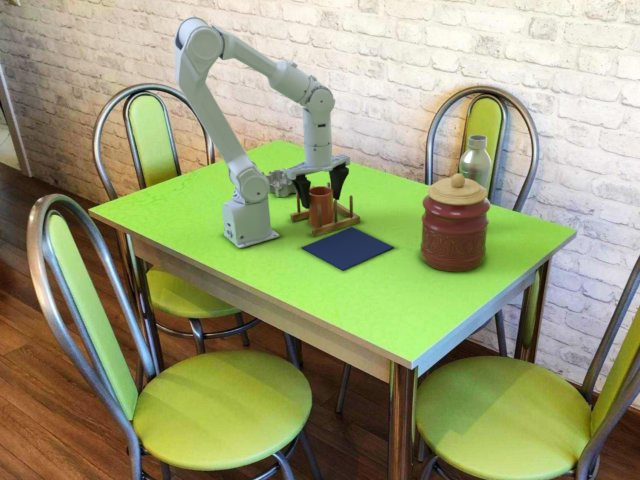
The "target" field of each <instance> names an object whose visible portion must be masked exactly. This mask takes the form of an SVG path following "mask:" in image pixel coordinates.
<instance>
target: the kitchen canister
mask: <svg viewBox="0 0 640 480" xmlns="http://www.w3.org/2000/svg"><path fill="white" fill-rule="evenodd" d="M486 189H487V188H486ZM486 189H485V188H484V187H482V186H481V185H479V184H478V183H477V182H475V181H473V180H470V179H466V178H464V176H463V175H462V174H460V173H454V174H453V175H452V176H451V177H446V178H442V179H439V180H437V181H436V182H433V184H431V185H429V187H428V188H427V190H426V192H427V195H425V197H424V198H422V207H423V209H424V212H423V213H422V215H421V222H422V224H421V225H422V226H421V243H420V254H421V255H420V256H421V258H422V261H423V262H424V263H426V264H427V265H428V266H430V267H431V268H434V269H436V270H440V271H445V272H466V271H470V270H473V269H475V268H477V267H479V266H481V264H483V262H484V259H485V257H486V253H487V252H486V251H487V246H486V245H487V244H486V243H487V233H488V226H489V223H490V219H489V217H488V212H489V210H490V209H491V201H490V200H489V199H488V198H487V196H488V191H487V190H486Z"/></svg>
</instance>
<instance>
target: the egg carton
mask: <svg viewBox="0 0 640 480" xmlns="http://www.w3.org/2000/svg"><path fill="white" fill-rule="evenodd" d="M261 173H262V174H263V175H265V176H266V177H267V179H268V180H269V183H270V191H269V193H271V194H273V193H275V196H276V197H277V198H287V197H289V194H296V191H297V190H296V188H295V186H294V184H293V183H292V181H291V180H290V179H289V178H288V177H287V168H279V169H274V171H272V170H271V171H268V174H265V172H264V171H261Z"/></svg>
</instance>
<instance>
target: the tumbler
mask: <svg viewBox="0 0 640 480" xmlns="http://www.w3.org/2000/svg"><path fill="white" fill-rule="evenodd" d="M309 199H310V208H309V209H308V216H309V217H308V224H309V226H310V227H313V228H316V227H319V222H318V205H319V204H320V205H321V215H322V226H323V225H326V224H330V223H333V222H335V221H334V204H333V202H334V198H333V189H331V186H330V187H327V185H317V186H314V187H313V186H311V187H310V192H309Z"/></svg>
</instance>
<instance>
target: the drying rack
mask: <svg viewBox="0 0 640 480" xmlns="http://www.w3.org/2000/svg"><path fill="white" fill-rule="evenodd" d="M312 187H315V186H314V185H313V186H312ZM326 187H330V188H331V181H330V182H329V181H327V183H326ZM295 194H296V196H295V197H296V212H294V213H290V215H289V218H290V221H291V222H296V221H301V220H304V219H309V216H308V209H304V210H301V200H300V197H299V195H298V192H297V191H296V193H295ZM348 198H349V199H348V200H349V208H347V207H345V206H344V205H342V204H341V203H339V202H338V200H335V199H333V204H334V222H333V223H330V224H326V225H323V226H322V215H321V205H320V204H319V205H318V222H319V227H316V228H315V227H313V228H311V229H310V230H311V236H312V237H314V238H315V237H318V236H321V235H324V234H327V233H332V232H334V231H337V230H340V229H345V228H347V227H352V226H353V225H358V224H360V223H361V216H360V215H358V214H357V213H355V212H354V197H353V195H352V194H351V195H349V197H348ZM339 214H340V215H342V216H343V217H345V218H343V219H339V218H338V217H339V216H338V215H339Z"/></svg>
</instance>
